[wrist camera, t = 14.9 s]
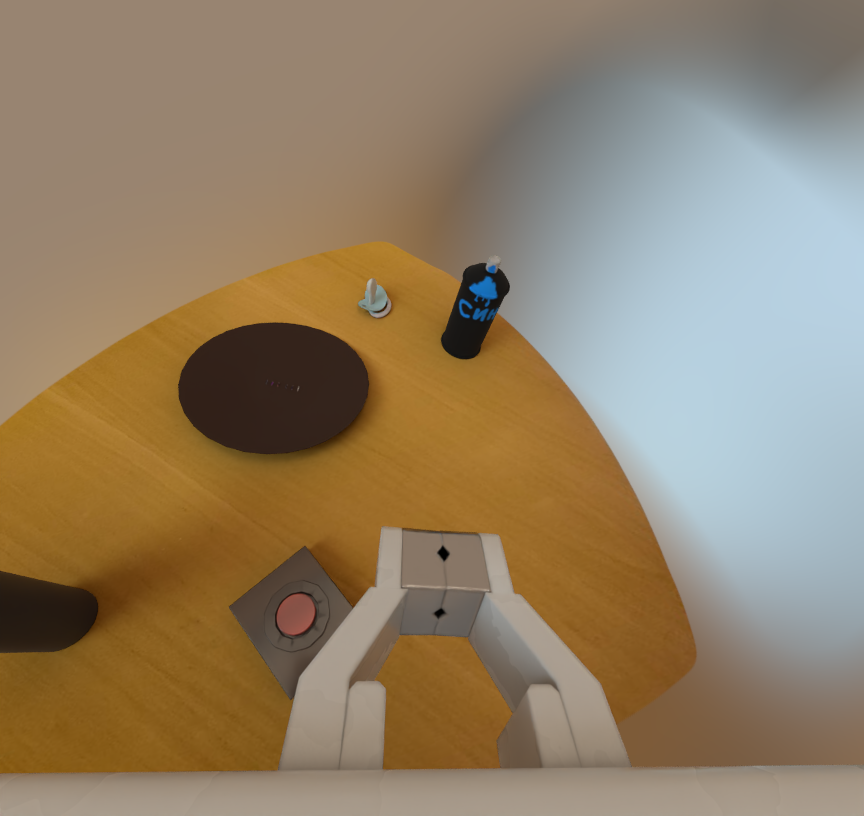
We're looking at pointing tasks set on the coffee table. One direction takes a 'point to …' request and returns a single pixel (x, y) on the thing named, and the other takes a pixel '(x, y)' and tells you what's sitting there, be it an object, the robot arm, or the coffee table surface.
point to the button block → (260, 616)
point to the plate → (273, 387)
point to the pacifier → (375, 299)
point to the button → (296, 614)
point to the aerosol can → (475, 308)
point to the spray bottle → (42, 614)
